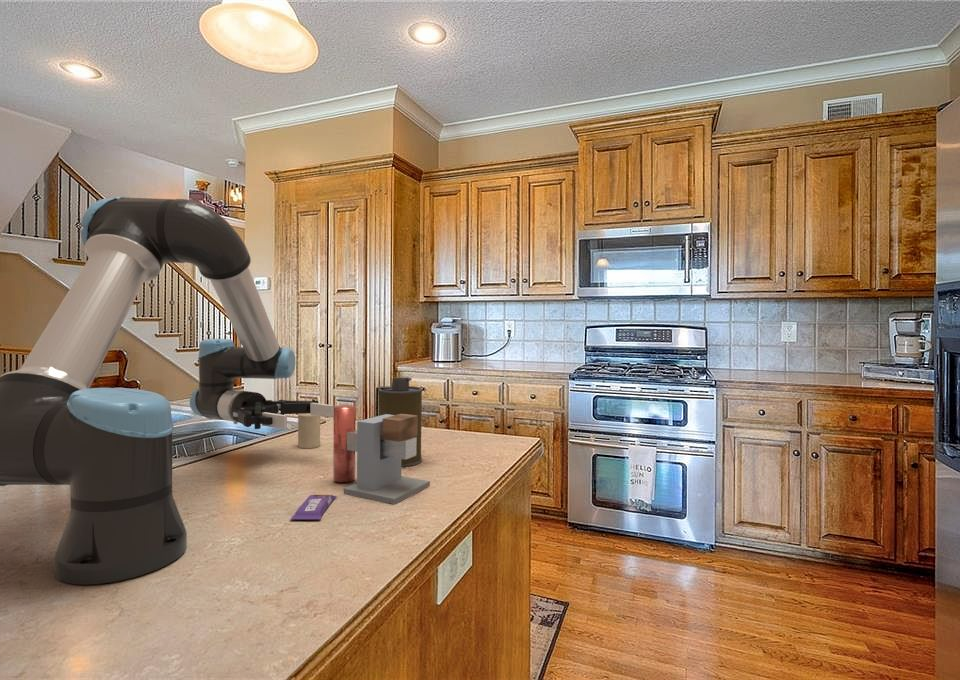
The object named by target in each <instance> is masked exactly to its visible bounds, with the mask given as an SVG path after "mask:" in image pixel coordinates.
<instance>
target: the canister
mask: <svg viewBox="0 0 960 680" xmlns="http://www.w3.org/2000/svg"><path fill="white" fill-rule="evenodd" d="M411 381H413V379H412V377H409V376H408V377H406V376H404V377H403V376H396V377H394V378H392V381H391V385H389V386H384V385H383V386H377V387H376V388H375V417H377V416H381V415H385V414H389V415H398V414H408V415H417V416H418V432H417V436H415V437H417V443H416V456H414V457H411V458H409V459H406V460H405V459H401V468H405V467H406V468H407V467H413V466H416V465H417V466H418V465H419V464H420V463H422V461H423V459H422V408H423V407H422V402H423V401H422V399H423V398H422V397H423V395H422V394H423V387H420V386H413V385H410V382H411Z"/></svg>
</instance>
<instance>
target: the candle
mask: <svg viewBox="0 0 960 680" xmlns="http://www.w3.org/2000/svg"><path fill="white" fill-rule="evenodd" d="M297 416H298V417H297V446H298V448H299V449H316V448H319V447H321V416H316V415H310V413H306V414H297Z"/></svg>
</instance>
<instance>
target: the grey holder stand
mask: <svg viewBox="0 0 960 680" xmlns="http://www.w3.org/2000/svg"><path fill="white" fill-rule="evenodd" d="M390 416H394V415H389V414H385V415H381V416H379V415H378V416H377V417H376V416H374V417H373V416H372V417H369V418H366V419H361V420H357V421H356V422H357V424H356V425H357V426H356V427H357V428H356V430H357V452H356V483H353V484H351V485H349V486H346V487H344V488H343V494H345V495H349V496H353V497H358V498H364V499H366V500H372V501H377V502H381V503H387V504H390V505H396V504H397V503H400V502H401V501H404V500H405V499H407V498H410V497H412V496H413V495H415V494H417V493H419V492H421V491H423V490H425V489H427V488H428V487H430V485H431V483H430V482H431V481H430V480H426V479H420V478H414V477H409V476H403V475H402V467H401V459H399V458H392V457H386V456H380V435H381V434H382V425H383V418H387V417H390Z"/></svg>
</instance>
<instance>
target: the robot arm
mask: <svg viewBox="0 0 960 680" xmlns="http://www.w3.org/2000/svg"><path fill="white" fill-rule="evenodd" d="M80 226H81V227H82V228H83V229H82V230H80V237H81V238H80V239H81V241H82V244H83V246H84V251H85V254H86V256H87V261H85V264H84V266H83V267H82V269H81V271H80V272H79V273H78V275H77V276H76V279H75V280H74V282H73V283H72V285H71V286H70V288H69V290H68V292H67V293H66V295H65V296H64V298H63V300H62V301H61V302H60V304H59V306H58V307H57V309H56V311H55V312H54V314H53V316H52V317H51V319H50V321H49V322H48V323H47V324H46V327H45V328H44V331H43V332H42V333H41V335H40V336H39V338H38V339H37V341H36V343H35V345H34V346H33V348H32V349H31V351H30V352H29V354H28V356H27V358H25V361H24V362H23V364H22V366H21V367H20V369H17V370H12V371H8V372H5V373H3V374H1V375H0V487H5V486H12V485H13V486H15V485H17V486H18V485H19V486H20V485H21V486H26V485H27V486H28V485H30V486H33V485H34V486H41V485H42V486H43V485H44V486H47V485H48V486H66V485H67V486H69V487H70V488H69V492H70V511H69V516H68V518H67V521H66V524H65V527H64V530H63V532H62V534H61V535H62V536H61V538H60V540H59V544H58V546H57V548H56V551H55V554H54V558H53V559H54V562H53V563H54V564H53V566H54V567H53V568H54V576H55V578H56V579H58V580H59V581H61V582H63V583H67V584H73V585H101V584H107V583H116V582H120V581H126V580H129V579H132V578H136V577H140V576H143V575H146V574H149V573H152V572H155V571H157V570H159V569H161V568H164V567H166V566H168V565H169V564H172V563H173V562H175V561H176V560H177V559H179V558H180V557H181V556H182V555H183V554H184V553H185V552H186V550H187V548H188V545H187V543H188V539H187V537H188V534H187V529H186V526H185V524H184V521H183V519H182V516H181V514H180V511H179V509H178V506H177V503H176V501H175V498H174V495H173V431H174V423H173V417H172V415H173V414H172V407H171V403H170V401H169V399H167V398H166V397H164V396H163V395H162V394H159V393H157V392H154V391H149V390H145V389H144V390H143V389H137V388H129V387H128V388H126V387H116V388H115V387H113V388H112V387H92V388H91V386H92V383H93V382H94V379H95V377H96V376H97V374H98V371H99V370H100V369H101V366H102V364H103V362H104V360H105V358H106V356H107V354H108V352H109V350H110V348H111V346H112V344H113V342H114V341H115V339H116V336H117V334H118V333H119V331H120V329H121V327H122V325H123V323H124V321H125V319H126V317H127V315H128V313H129V311H130V309H131V308H132V306H133V303H134V302H135V300H136V298H137V296H138V294H139V292H140V290H141V288H142V286H143V284H144V283H147V282H150V281H153V280H155V279H156V278H157V277H158V276H159V274H160V273H161V270H162V269H163V267H164V265H165V264H166V263H176V264H177V263H179V264H181V263H182V264H183V263H185V264H190V265H191V264H192V265H194V266H196V267H197V268H198V271H199V273H200V275H201V276H202V277H204V278H205V279H207V280H209V281H210V283H211V284H212V286H213V288H214V291H215V293H216V295H217V297H218V299H219V302H220V303H221V305H222V307H223V310H224V311H225V313H226V316H227V317H228V320H229V322H230V324H231V326H232V327H233V330H234V332H235V334H236V336H237V338H238V340H239V341H240V344H241V346H235V344H234V341H233V339H231V338H207V339H206V338H205V339H202V340H201V341H200V342H199V345H198V346H199V348H198V350H199V351H198V357H197V360H198V378H199V379H198V381H199V382H198V383H199V384H198V388H196V389H195V390H194V391H193V392H192V394H191V397H190V398H189V407H190V409H191V411H192V412H193V413H194V414H195V415H197V416H199V417H204V418H206V419H211V420H213V419H214V420H221V421H226V422H233V424H234V425H237V424H238V423H239V424H242V425H243V426H244V427H245V428H246V427H247V428H251V427H252V426H254V430H260V429H262V428H261V427H268V428H269V427H270V428H275V429H282V430H287V429H288V415H294V414H295V415H298V414H306V413H310V415H316V416H320V417H325V418H334V407H335V405H333V404H325V403H319V400H316V399H314V398H313V399H311V400H286V399H279V400H272V399H266V397H265V396H264V395H263V394H261V393H259V392H256V391H250V390H249V391H247V390H243V389H242V390H241V389H234V384H235V380H234V379H262V380H263V379H264V380H265V379H267V380H268V379H269V380H277V379H279V380H280V379H289V378H291V377H292V376H293V375H294V372H295V369H296V354H295V352H294V350H293V349H292V348H290V347H285V346H283V347H281V345H280V344H279V342H278V339H277V337H276V335H275V332H274V329H273V326H272V324H271V321H270V319H269V316H268V314H267V311H266V307H265V306H264V303H263V301H262V299H261V295H260V293H259V291H258V288H257V285H256V283H255V280H254V278H253V275H252V273H251V271H250V268H249V267H250V265H251V263H252V262H251V261H252V259H251V255H250V253H249V250H248V248H247V246H246V244H245V242H244V241H243V239H242V238H241V236H240V234H239V233H238V232H237V230H235V229H234V227H233V226H232V225H231V224H230V223H229V222H228V221H227V220H226V219H225V218H224V217H222V215H221V214H219V213H218V212H216V211H215V210H214V209H212V208H211V207H209V206H207V205H205V204H202V203H201V202H198V201H195V200H192V199H185V198H175V199H174V198H173V199H172V198H147V197H146V198H145V197H144V198H143V197H128V196H127V197H126V196H118V197H111V198H109V197H108V198H102V199H98V200H96V201H95V202H94V203H93V202H92V204H90V206H88V208H87V209H86V210H85V212H84V214H83V216H82V219H81V223H80ZM279 411H280V412H279Z"/></svg>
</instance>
